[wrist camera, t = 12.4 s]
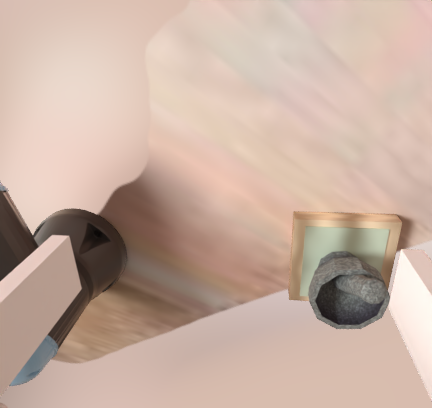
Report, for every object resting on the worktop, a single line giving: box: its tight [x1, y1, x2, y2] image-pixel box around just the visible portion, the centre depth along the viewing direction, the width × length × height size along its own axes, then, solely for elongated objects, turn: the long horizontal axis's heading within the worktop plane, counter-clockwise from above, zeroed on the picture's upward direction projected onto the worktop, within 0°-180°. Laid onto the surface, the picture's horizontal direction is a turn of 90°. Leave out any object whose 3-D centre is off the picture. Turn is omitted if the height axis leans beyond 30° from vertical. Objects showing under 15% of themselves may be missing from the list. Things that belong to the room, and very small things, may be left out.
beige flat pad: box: [288, 212, 402, 301], centre depth 51 cm, size 14×14×3 cm
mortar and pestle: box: [308, 251, 390, 329], centre depth 44 cm, size 11×9×12 cm
